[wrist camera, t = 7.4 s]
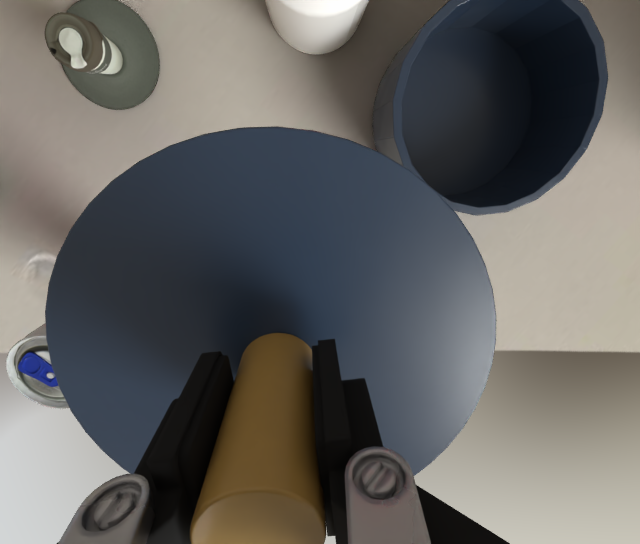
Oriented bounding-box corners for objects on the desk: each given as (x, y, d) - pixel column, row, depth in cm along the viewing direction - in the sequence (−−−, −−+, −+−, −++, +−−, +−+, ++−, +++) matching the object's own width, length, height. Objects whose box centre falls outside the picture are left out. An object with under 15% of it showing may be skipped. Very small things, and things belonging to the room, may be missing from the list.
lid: (496, 104, 10) (805, 28, 4) (470, 474, 15) (586, 698, 9) (-7, 156, 10) (-519, 163, 4) (135, 511, 15) (16, 765, 9)
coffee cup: (129, -66, 25) (88, -116, 20) (212, 103, 28) (193, 94, 24) (-7, 11, 26) (-76, -20, 21) (90, 163, 30) (50, 165, 25)
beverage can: (121, 284, 33) (-15, 381, 19) (148, 246, 32) (26, 320, 18) (166, 314, 35) (69, 426, 21) (194, 278, 34) (112, 370, 19)
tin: (543, 12, 27) (627, -37, 20) (525, 192, 32) (587, 203, 25) (368, 31, 27) (389, -12, 20) (375, 208, 32) (395, 224, 25)
